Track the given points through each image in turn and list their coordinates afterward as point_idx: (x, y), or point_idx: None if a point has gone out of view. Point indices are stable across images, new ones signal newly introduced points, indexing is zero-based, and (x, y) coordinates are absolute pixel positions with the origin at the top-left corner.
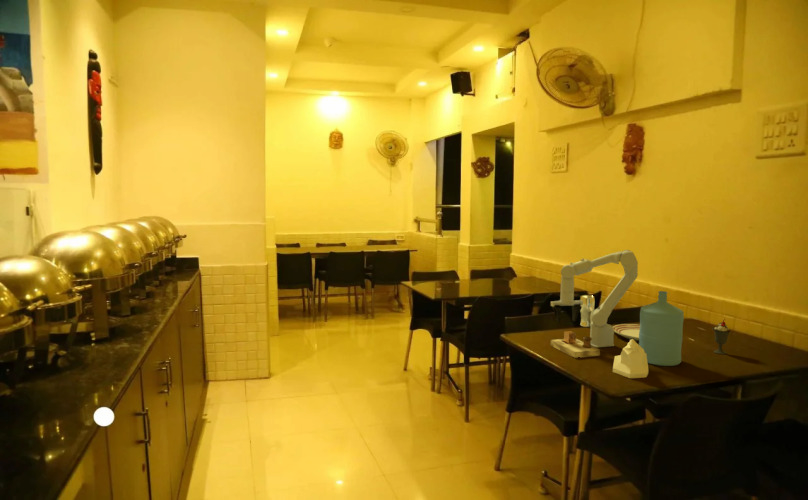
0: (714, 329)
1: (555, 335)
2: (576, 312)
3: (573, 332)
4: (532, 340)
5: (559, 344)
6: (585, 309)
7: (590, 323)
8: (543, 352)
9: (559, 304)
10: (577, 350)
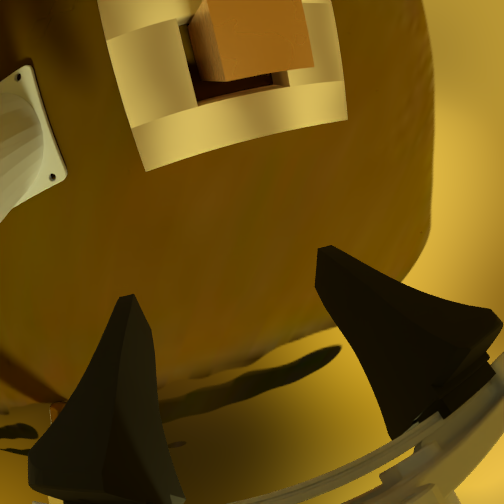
0: None
1: (217, 306)
2: (110, 390)
3: (225, 20)
4: (368, 213)
5: (332, 12)
6: None
7: (55, 414)
8: (400, 14)
9: (438, 433)
10: None
